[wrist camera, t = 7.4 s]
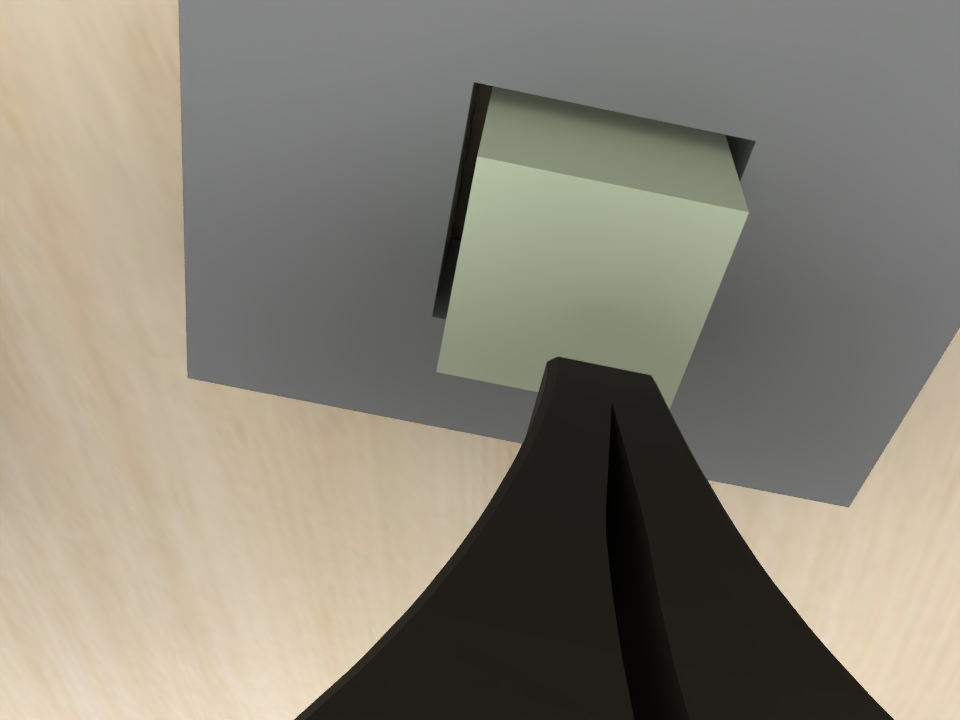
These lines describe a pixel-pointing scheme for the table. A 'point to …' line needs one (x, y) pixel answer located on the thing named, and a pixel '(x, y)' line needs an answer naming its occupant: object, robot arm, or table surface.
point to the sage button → (588, 243)
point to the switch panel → (606, 85)
